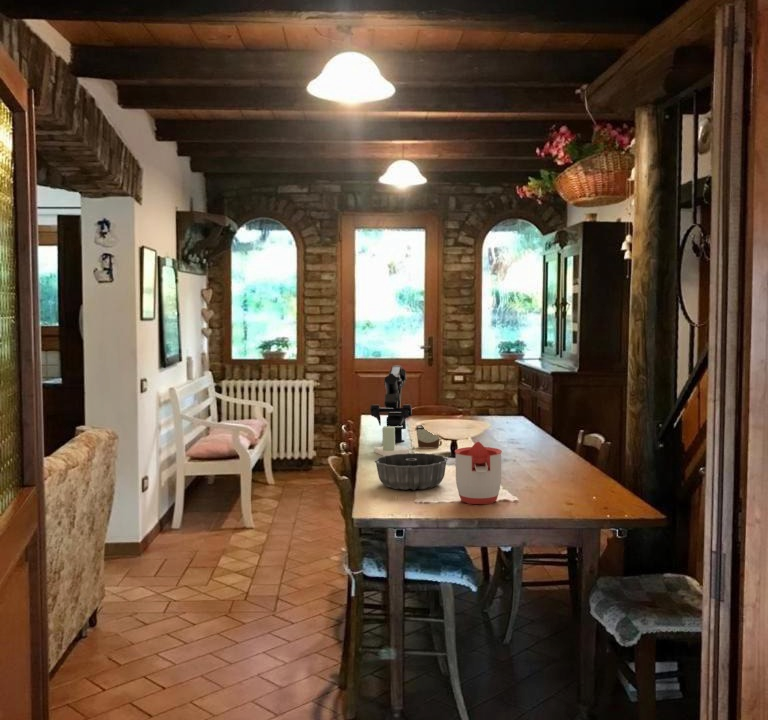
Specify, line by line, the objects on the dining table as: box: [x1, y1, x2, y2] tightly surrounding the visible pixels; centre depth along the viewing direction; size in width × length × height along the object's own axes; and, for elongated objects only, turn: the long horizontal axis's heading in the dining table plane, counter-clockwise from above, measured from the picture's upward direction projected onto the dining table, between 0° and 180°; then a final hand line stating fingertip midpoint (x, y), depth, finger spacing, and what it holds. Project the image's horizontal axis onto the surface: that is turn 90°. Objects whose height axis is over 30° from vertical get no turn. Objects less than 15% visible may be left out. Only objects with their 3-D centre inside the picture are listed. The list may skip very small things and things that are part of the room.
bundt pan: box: [374, 452, 448, 491], centre depth 285 cm, size 26×26×10 cm
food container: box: [414, 424, 441, 447], centre depth 366 cm, size 12×6×10 cm, turn 84°
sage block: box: [382, 425, 396, 451], centre depth 348 cm, size 5×5×10 cm
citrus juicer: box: [454, 441, 502, 505], centre depth 259 cm, size 16×17×20 cm
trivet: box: [373, 444, 410, 457], centre depth 351 cm, size 12×12×2 cm
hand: (390, 425), depth 353 cm, fingers open, 9 cm apart
